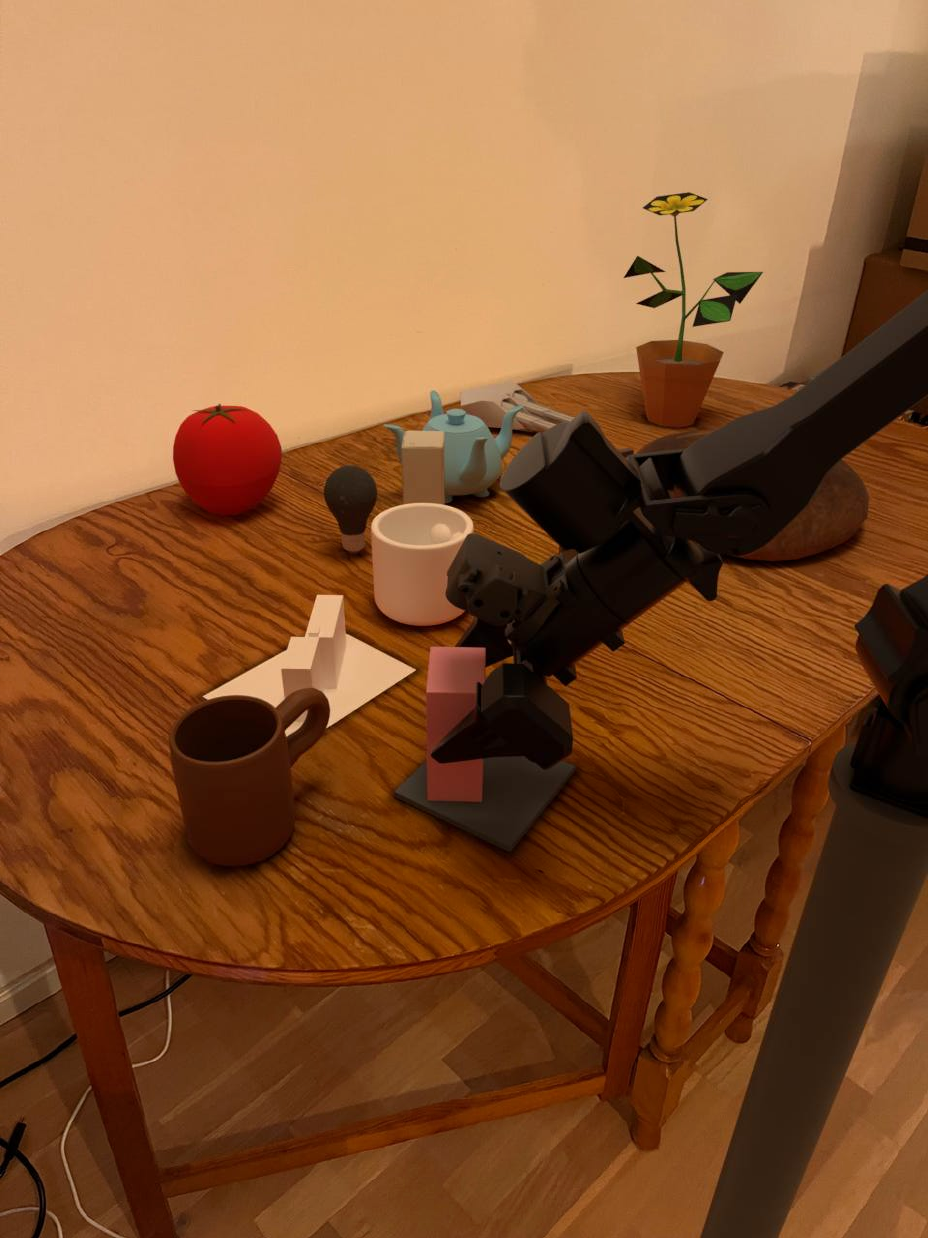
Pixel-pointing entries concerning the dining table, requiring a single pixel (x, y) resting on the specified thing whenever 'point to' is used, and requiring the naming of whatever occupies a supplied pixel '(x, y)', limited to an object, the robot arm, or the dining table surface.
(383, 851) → the dining table surface
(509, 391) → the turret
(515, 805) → the mat
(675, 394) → the potted plant
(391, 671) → the napkin holder
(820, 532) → the bread
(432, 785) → the block
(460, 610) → the mug
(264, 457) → the tomato
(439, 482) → the box
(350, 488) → the light bulb
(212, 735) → the mug
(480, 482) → the teapot
